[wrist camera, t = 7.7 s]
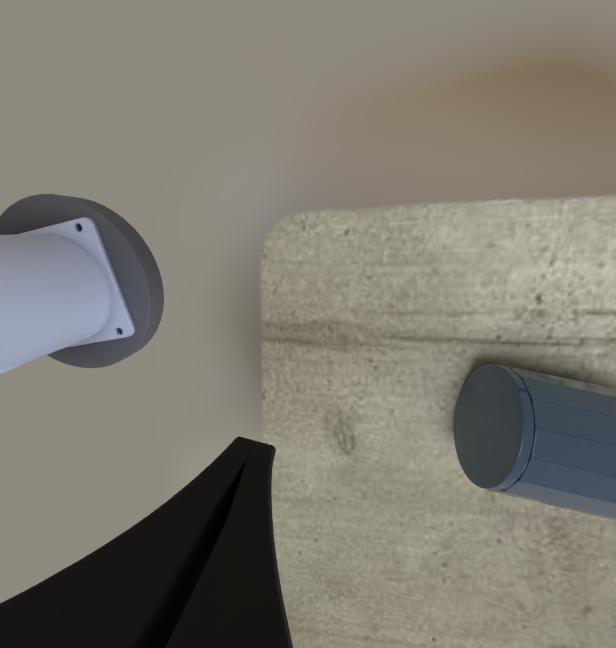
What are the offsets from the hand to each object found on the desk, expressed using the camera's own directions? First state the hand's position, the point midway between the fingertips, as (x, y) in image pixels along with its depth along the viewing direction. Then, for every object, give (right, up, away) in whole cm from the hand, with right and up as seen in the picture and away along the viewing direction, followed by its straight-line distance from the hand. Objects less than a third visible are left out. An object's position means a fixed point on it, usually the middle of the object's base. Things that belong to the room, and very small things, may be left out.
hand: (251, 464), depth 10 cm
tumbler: (+11, 0, +6) cm, 13 cm away
